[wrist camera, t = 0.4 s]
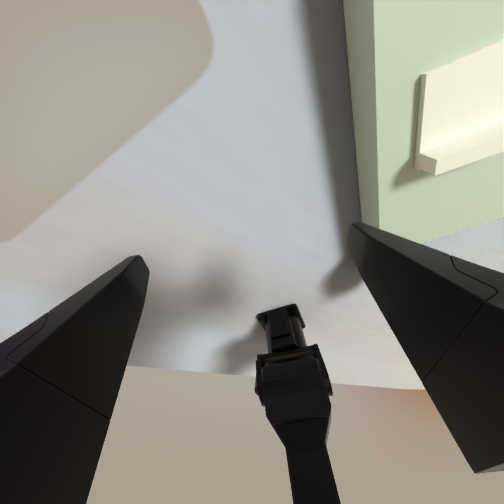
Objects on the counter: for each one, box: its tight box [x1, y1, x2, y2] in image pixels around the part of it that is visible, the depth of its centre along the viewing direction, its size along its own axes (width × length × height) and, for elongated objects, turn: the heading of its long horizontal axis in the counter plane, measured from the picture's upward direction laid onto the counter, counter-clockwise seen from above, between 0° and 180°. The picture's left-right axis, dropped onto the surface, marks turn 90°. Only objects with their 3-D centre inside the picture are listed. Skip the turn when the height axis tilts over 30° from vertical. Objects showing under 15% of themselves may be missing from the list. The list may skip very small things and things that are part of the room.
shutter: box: [414, 38, 504, 176], centre depth 14 cm, size 6×6×2 cm
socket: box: [343, 0, 504, 244], centre depth 17 cm, size 24×12×4 cm, turn 21°
